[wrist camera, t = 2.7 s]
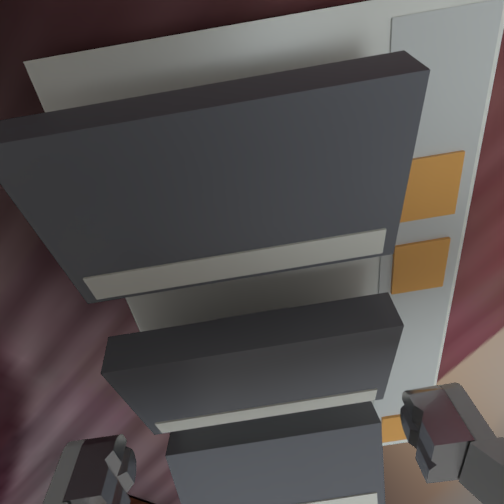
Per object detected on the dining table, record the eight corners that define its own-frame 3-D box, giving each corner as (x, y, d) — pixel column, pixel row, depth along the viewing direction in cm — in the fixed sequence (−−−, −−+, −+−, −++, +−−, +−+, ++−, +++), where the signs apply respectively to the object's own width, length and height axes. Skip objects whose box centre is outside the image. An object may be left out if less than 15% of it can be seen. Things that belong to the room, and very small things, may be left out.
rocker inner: (0, 120, 9) (-27, 149, 8) (404, 50, 9) (432, 70, 8) (96, 272, 13) (87, 305, 12) (378, 226, 13) (394, 255, 12)
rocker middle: (108, 336, 13) (100, 375, 12) (388, 291, 13) (404, 327, 12) (157, 402, 17) (154, 436, 16) (372, 368, 17) (383, 400, 16)
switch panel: (56, 55, 13) (1, 65, 9) (463, -16, 12) (546, -31, 9) (202, 435, 25) (200, 494, 22) (407, 403, 24) (435, 458, 21)
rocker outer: (170, 431, 18) (165, 457, 17) (370, 400, 18) (381, 423, 16) (194, 508, 20) (191, 537, 19) (375, 481, 20) (385, 508, 18)
